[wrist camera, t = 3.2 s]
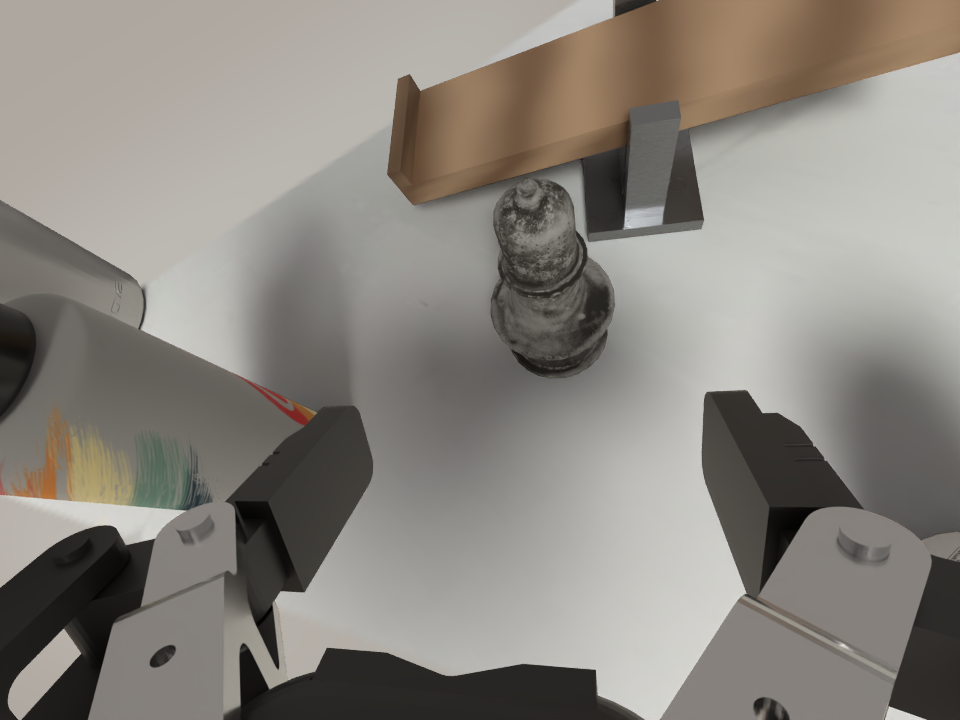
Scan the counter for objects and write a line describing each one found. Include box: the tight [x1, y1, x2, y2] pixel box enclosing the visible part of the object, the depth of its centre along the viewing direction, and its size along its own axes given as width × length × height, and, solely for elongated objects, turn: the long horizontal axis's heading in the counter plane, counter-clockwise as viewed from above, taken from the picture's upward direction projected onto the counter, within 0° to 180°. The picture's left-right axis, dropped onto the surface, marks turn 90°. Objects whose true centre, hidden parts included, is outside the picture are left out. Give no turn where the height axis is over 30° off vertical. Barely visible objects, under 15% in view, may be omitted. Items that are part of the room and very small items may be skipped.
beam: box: [387, 0, 960, 205], centre depth 23 cm, size 26×7×3 cm, turn 89°
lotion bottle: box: [0, 293, 317, 511], centre depth 18 cm, size 6×6×20 cm
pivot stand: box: [583, 0, 704, 242], centre depth 26 cm, size 6×11×7 cm, turn 179°
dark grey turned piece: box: [491, 178, 615, 378], centre depth 21 cm, size 6×6×12 cm
